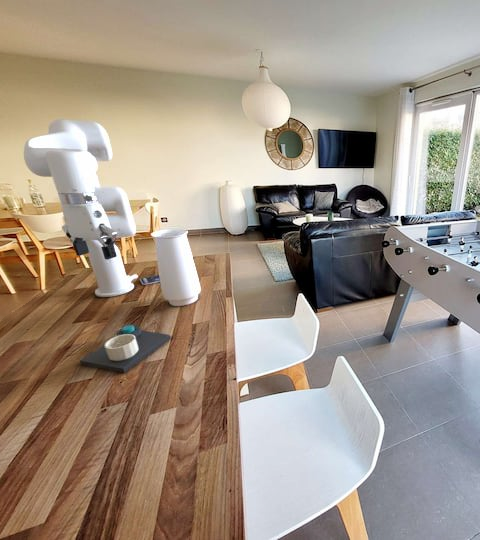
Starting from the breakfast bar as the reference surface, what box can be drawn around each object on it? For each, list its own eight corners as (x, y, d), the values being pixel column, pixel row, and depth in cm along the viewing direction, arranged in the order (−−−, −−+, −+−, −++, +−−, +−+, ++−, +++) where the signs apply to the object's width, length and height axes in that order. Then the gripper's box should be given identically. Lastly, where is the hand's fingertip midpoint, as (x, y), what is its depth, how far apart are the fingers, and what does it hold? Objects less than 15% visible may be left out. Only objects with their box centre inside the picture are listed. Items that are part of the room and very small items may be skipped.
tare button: (129, 328, 92) (127, 324, 91) (137, 329, 91) (136, 325, 91) (120, 333, 89) (119, 329, 88) (128, 335, 88) (127, 330, 88)
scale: (131, 332, 94) (129, 324, 93) (170, 338, 92) (168, 330, 91) (79, 364, 80) (76, 355, 78) (124, 372, 78) (121, 363, 76)
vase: (207, 293, 121) (196, 229, 111) (192, 308, 109) (178, 238, 99) (176, 292, 121) (162, 227, 110) (157, 307, 109) (139, 236, 98)
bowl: (125, 345, 86) (121, 332, 84) (144, 348, 85) (141, 335, 83) (102, 359, 80) (97, 346, 78) (123, 363, 79) (119, 350, 77)
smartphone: (139, 278, 130) (177, 271, 139) (139, 279, 130) (177, 272, 140) (142, 284, 125) (181, 276, 134) (143, 285, 125) (181, 277, 135)
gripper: (118, 199, 82) (133, 255, 88) (67, 194, 84) (85, 249, 91) (91, 203, 75) (109, 264, 81) (36, 197, 77) (58, 257, 84)
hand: (97, 256), depth 86 cm, fingers open, 9 cm apart
